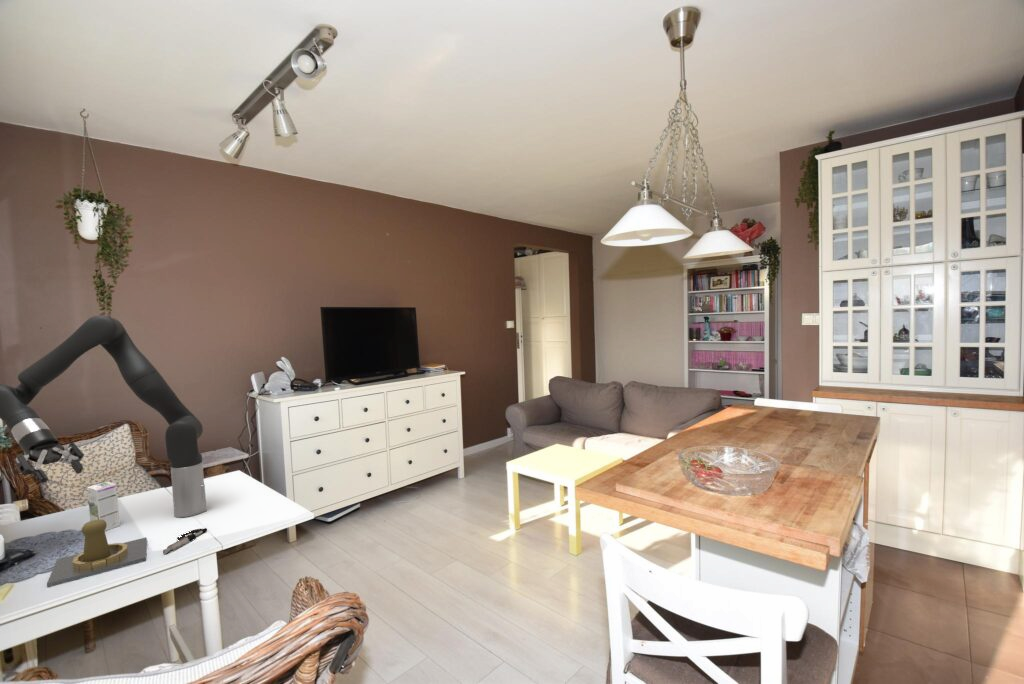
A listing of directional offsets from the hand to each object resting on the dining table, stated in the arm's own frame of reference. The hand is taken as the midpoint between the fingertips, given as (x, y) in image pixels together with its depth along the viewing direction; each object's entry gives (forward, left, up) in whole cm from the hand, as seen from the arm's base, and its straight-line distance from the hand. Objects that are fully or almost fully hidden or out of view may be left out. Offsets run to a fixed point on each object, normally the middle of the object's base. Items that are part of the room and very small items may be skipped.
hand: (63, 476), depth 140 cm
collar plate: (-8, +16, -22) cm, 29 cm away
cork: (-7, +16, -21) cm, 28 cm away
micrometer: (-26, +16, -23) cm, 39 cm away
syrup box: (-7, -13, -23) cm, 27 cm away
